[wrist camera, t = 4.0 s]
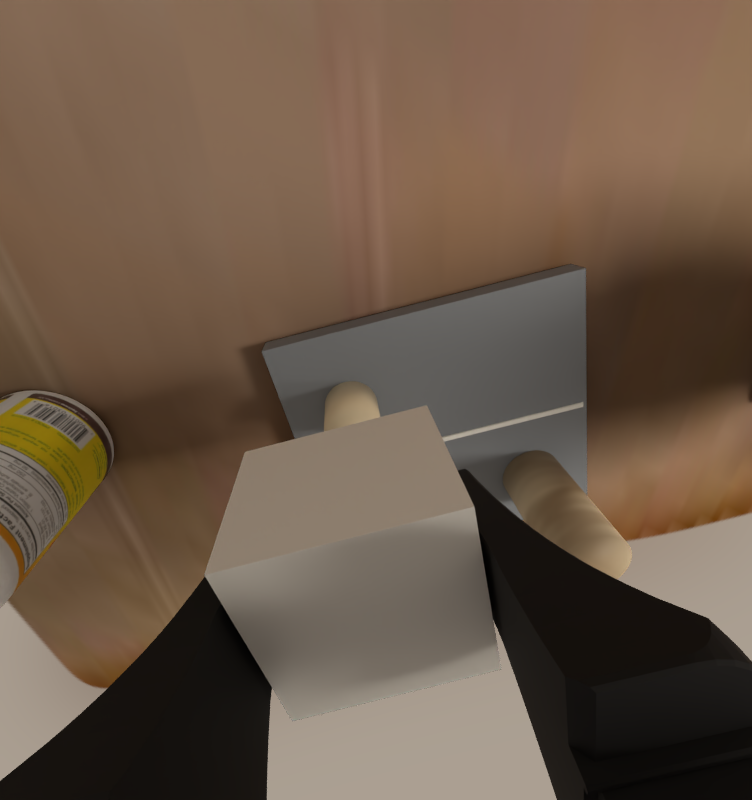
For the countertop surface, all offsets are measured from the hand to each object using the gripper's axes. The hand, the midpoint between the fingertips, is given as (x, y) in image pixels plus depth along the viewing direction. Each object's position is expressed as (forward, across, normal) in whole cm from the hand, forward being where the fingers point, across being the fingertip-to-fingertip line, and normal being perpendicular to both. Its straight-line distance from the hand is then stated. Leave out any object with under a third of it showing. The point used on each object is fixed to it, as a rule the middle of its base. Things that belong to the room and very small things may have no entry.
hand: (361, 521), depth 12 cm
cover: (+1, 0, 0) cm, 1 cm away
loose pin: (+8, -8, +6) cm, 13 cm away
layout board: (+9, -4, +3) cm, 10 cm away
